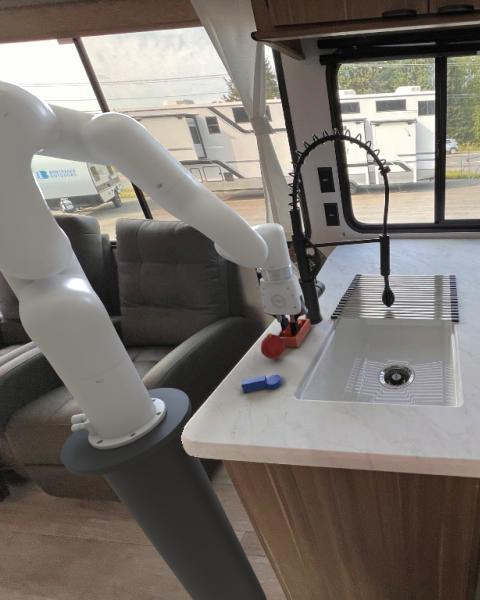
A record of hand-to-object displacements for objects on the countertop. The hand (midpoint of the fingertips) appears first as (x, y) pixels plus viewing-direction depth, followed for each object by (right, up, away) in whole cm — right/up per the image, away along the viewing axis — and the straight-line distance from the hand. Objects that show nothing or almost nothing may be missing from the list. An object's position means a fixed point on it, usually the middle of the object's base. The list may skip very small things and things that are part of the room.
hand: (291, 332), depth 89 cm
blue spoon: (-1, -11, -16) cm, 20 cm away
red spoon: (0, 0, +2) cm, 2 cm away
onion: (-2, -7, -7) cm, 9 cm away
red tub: (0, -2, +3) cm, 3 cm away
